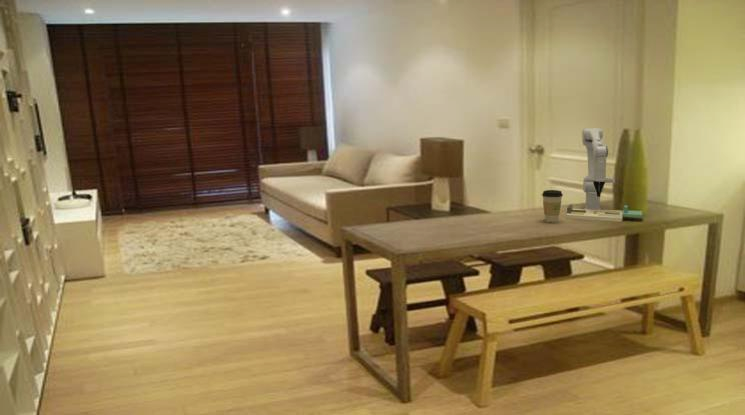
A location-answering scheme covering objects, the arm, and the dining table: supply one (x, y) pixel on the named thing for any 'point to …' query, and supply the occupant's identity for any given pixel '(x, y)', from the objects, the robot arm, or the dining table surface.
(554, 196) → the coffee cup
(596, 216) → the board
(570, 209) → the t key
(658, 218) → the dining table surface
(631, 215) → the cover
